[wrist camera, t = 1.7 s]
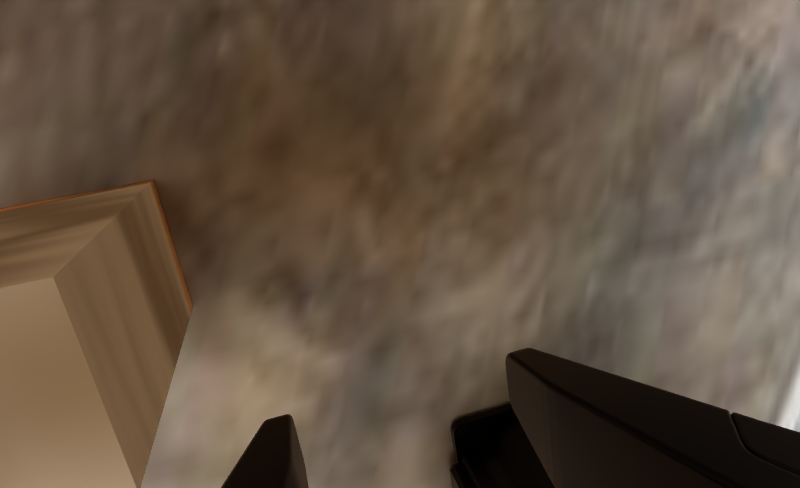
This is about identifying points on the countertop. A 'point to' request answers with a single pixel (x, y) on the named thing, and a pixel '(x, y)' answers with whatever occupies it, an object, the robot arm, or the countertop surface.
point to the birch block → (86, 336)
